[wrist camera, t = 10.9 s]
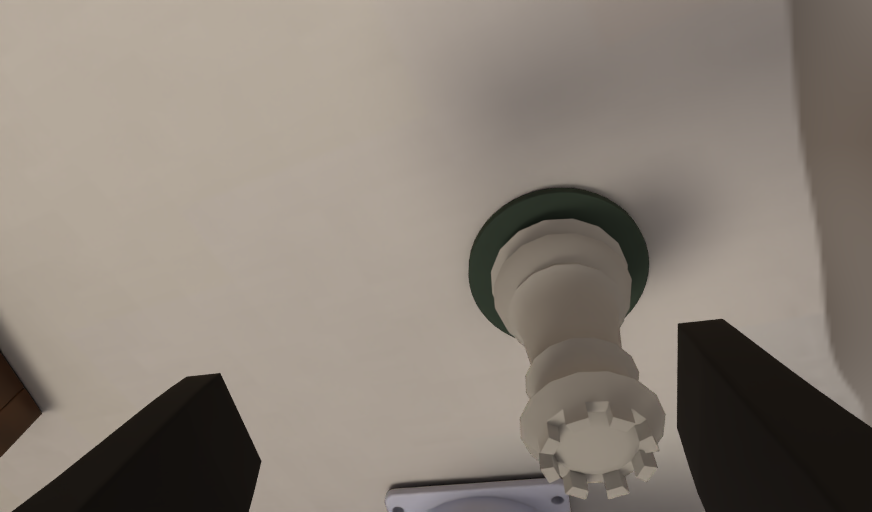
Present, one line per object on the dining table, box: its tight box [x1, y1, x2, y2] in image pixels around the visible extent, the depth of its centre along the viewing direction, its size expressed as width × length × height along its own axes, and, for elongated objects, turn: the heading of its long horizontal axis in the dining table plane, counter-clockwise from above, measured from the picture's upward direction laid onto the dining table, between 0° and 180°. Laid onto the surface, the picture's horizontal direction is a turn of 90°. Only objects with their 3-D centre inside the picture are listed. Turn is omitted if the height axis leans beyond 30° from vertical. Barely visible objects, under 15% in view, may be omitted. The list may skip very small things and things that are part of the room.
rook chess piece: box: [491, 219, 665, 499], centre depth 16 cm, size 4×4×8 cm
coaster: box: [469, 188, 649, 338], centre depth 19 cm, size 6×6×1 cm
